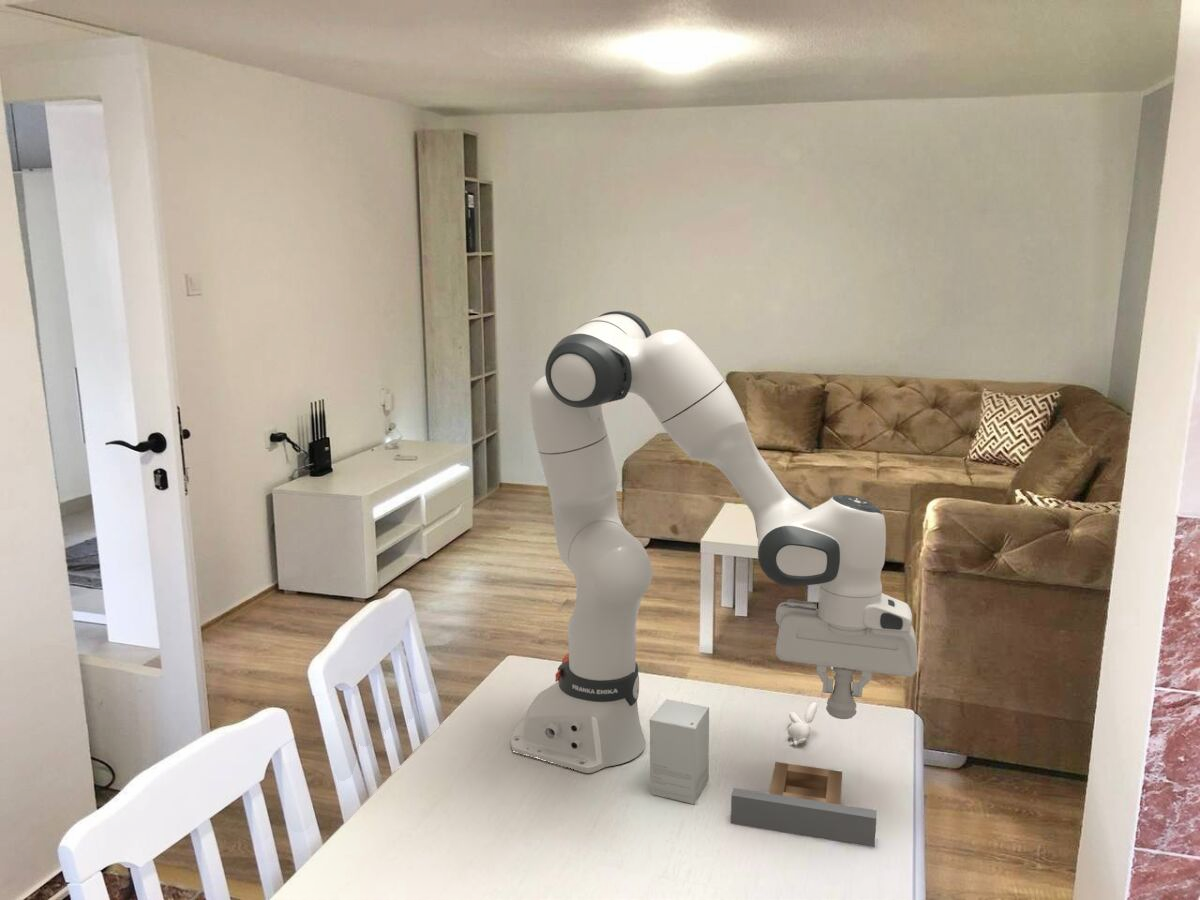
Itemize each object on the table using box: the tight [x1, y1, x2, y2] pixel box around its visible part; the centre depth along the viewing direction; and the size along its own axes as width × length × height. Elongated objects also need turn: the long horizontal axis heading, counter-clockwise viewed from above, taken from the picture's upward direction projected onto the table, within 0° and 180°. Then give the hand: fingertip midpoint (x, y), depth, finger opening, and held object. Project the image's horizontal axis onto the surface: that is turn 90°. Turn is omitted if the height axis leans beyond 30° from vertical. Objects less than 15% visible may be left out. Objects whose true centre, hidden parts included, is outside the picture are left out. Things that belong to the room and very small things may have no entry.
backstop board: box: [730, 787, 878, 848], centre depth 132 cm, size 20×2×4 cm, turn 73°
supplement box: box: [649, 698, 710, 805], centre depth 142 cm, size 7×7×13 cm
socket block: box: [768, 761, 843, 805], centre depth 138 cm, size 10×10×4 cm
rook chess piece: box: [825, 667, 857, 720], centre depth 138 cm, size 4×4×8 cm
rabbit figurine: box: [787, 701, 818, 746], centre depth 158 cm, size 6×4×8 cm
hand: (842, 693), depth 139 cm, fingers closed on rook chess piece, 3 cm apart
